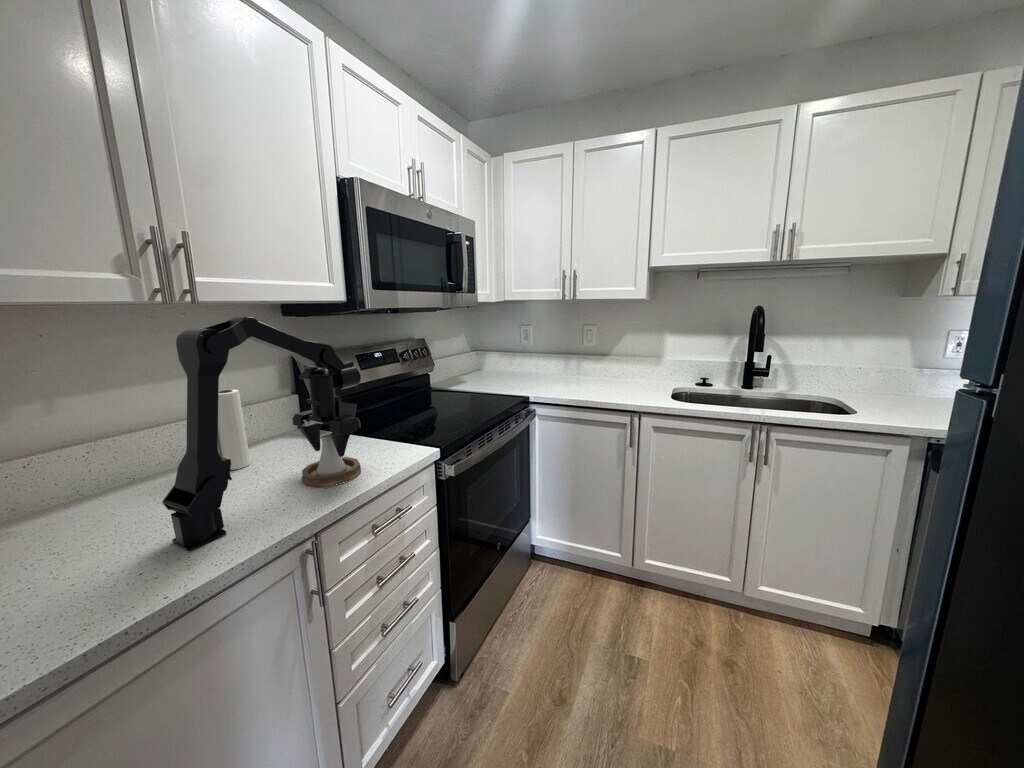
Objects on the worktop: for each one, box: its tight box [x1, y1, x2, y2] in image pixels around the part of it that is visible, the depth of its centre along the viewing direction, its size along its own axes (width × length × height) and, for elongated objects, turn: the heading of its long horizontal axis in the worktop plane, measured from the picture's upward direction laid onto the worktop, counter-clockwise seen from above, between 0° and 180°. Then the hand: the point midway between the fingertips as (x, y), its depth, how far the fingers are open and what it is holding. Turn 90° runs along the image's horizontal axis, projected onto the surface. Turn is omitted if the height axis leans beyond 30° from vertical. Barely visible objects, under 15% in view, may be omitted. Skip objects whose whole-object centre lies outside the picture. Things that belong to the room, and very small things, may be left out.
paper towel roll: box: [218, 389, 251, 471], centre depth 110 cm, size 7×6×21 cm
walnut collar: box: [301, 456, 362, 488], centre depth 105 cm, size 14×14×2 cm
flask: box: [316, 433, 347, 476], centre depth 104 cm, size 7×7×10 cm
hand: (329, 453), depth 104 cm, fingers open, 9 cm apart
